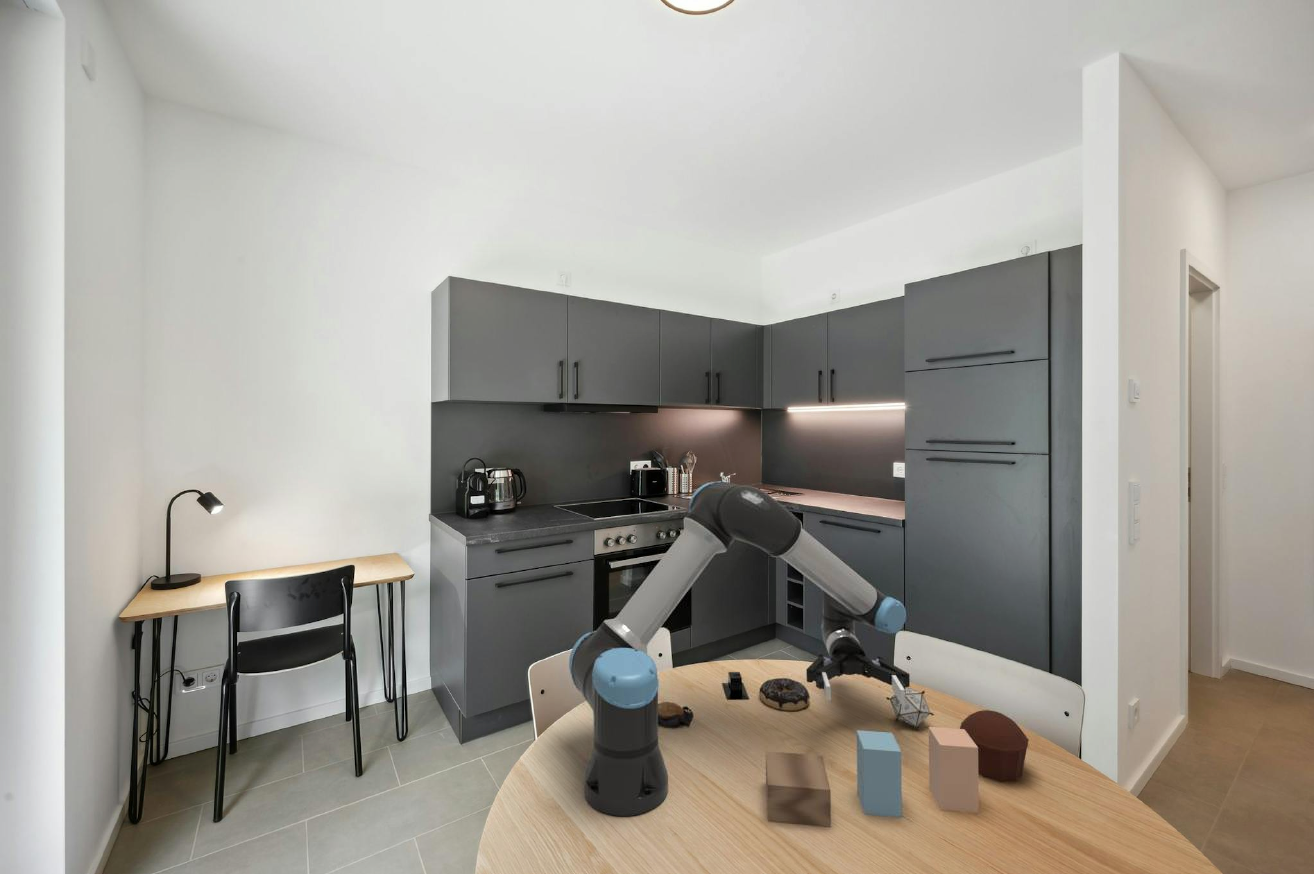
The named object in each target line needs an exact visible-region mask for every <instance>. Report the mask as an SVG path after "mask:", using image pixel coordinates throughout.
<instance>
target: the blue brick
mask: <svg viewBox="0 0 1314 874" xmlns="http://www.w3.org/2000/svg"><path fill="white" fill-rule="evenodd" d="M902 772H903V771H902V751H901V748H900V746H899V744H898V742H897V739H896V738H895V736H894V733H893V732H887V731H886V732H885V731H872V730H871V731H870V730H859V729H858V730H856V779H857V780H856V792H857V796H858V798H859V801H860V802H859V803H860V806H861V808H862V812H863V814H864V815H868V816H881V817H889V818H890V817H892V818H903V801H902V800H903V793H902V792H903V791H902V789H903V787H902V785H903V784H902V782H903V781H902V777H903V776H902Z"/></svg>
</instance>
